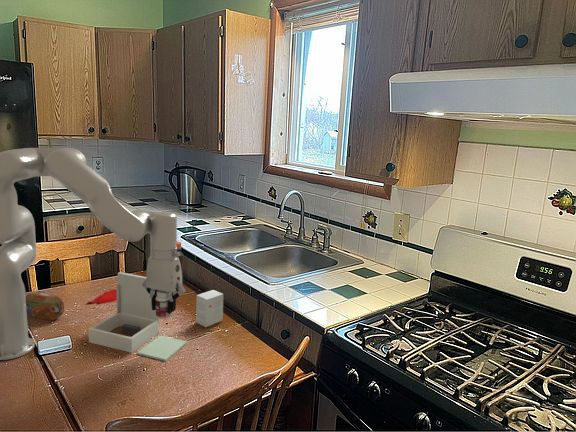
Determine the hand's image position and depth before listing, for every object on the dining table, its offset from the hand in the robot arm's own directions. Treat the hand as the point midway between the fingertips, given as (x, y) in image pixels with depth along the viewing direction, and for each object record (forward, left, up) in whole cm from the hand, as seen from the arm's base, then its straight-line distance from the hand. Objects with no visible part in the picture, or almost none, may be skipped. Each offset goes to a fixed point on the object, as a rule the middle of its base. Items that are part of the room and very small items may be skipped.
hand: (163, 309), depth 135 cm
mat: (0, 0, -13) cm, 13 cm away
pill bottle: (0, 0, -2) cm, 2 cm away
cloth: (+28, +40, -14) cm, 51 cm away
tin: (+2, +49, -13) cm, 51 cm away
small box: (+23, -4, -13) cm, 27 cm away
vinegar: (+45, +24, -13) cm, 53 cm away
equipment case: (+1, +15, -13) cm, 20 cm away
